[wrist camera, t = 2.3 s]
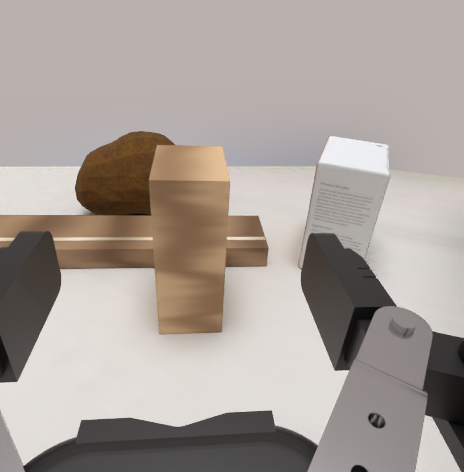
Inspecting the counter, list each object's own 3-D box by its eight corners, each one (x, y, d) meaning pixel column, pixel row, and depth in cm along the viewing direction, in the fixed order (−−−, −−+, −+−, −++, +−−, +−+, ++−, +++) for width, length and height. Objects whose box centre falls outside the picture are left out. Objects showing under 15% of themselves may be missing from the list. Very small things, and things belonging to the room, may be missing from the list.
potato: (87, 194, 45) (75, 122, 40) (185, 189, 48) (184, 121, 43) (80, 230, 38) (65, 147, 33) (195, 221, 41) (195, 144, 36)
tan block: (213, 243, 37) (217, 123, 31) (221, 332, 27) (230, 181, 21) (168, 243, 37) (162, 121, 30) (159, 334, 27) (148, 180, 20)
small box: (310, 228, 41) (328, 134, 35) (362, 240, 39) (390, 143, 34) (296, 268, 34) (315, 160, 29) (357, 284, 33) (391, 173, 27)
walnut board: (256, 232, 39) (258, 214, 38) (266, 265, 34) (268, 247, 33) (-2, 232, 36) (-9, 214, 35) (-33, 269, 31) (-42, 249, 30)
